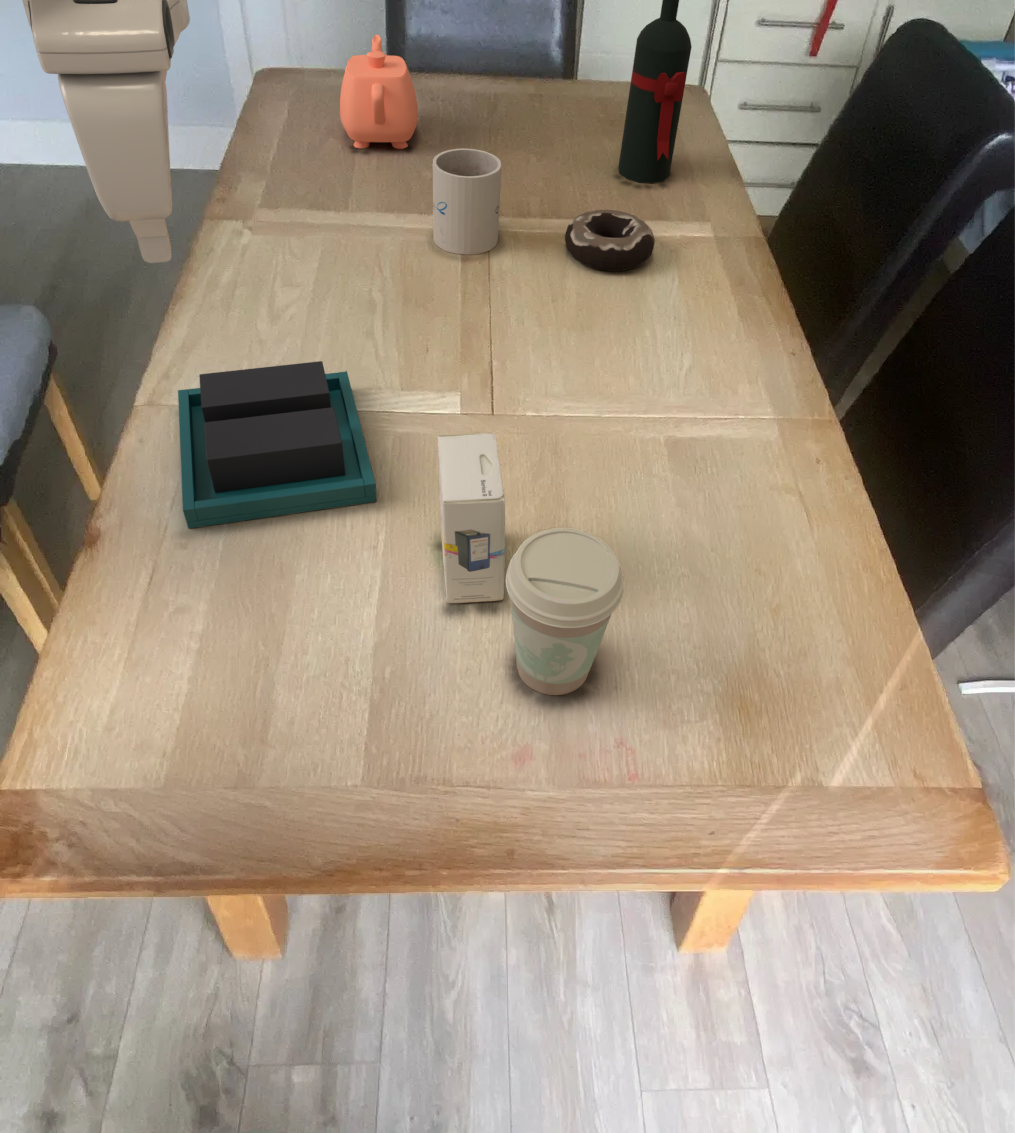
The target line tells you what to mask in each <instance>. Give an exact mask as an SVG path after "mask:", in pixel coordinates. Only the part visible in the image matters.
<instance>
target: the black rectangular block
mask: <svg viewBox="0 0 1015 1133" xmlns="http://www.w3.org/2000/svg"><path fill="white" fill-rule="evenodd" d="M325 374H326V372H325V367H324V362H323V361H322V360H319V361H310V362H301V363H291V364H282V365H271V366H264V367H255V368H245V369H244V368H243V369H236V370H227V371H217V372H209V373H208V372H207V373H200V374H199V376H198V377H199V388H200V392H201V407H202V412H203V416H204V420H205V422H214V421H222V420H230V419H239V418H247V417H256V416H264V415H272V414H281V413H289V412H298V411H306V410H314V409H323V408H331V402H330V394H329V389H328V384H327V380H326V376H325Z"/></svg>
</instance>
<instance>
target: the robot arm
mask: <svg viewBox="0 0 1015 1133" xmlns="http://www.w3.org/2000/svg"><path fill="white" fill-rule="evenodd" d="M21 1H22V4H23V7H24V8H23V9H24V11H25V15H26V18H27V23H28V25H29V27H30V29H31V34H32V39H33V43H34V48H35V51H36V53H37V57H38V61H39V65H40V67H41V69H42V70H43V72H44V73H45V74H49V75H57V80H58V86H59V88H60V89H59V90H60V93H61V96H62V100H63V104H64V107H65V109H66V113H67V115H68V119H69V121H70V124H71V127H72V131H73V134H74V136H75V139H76V142H77V144H78V147H79V150H80V154H81V156H82V159H83V162H84V164H85V167H86V170H87V174H88V175H89V178H90V181H91V185H92V186H93V189H94V191H95V194H96V197H97V199H98V201H99V203H100V205H101V207H102V209H103V210H104V212H105V213H106V215H108V217H109V218H110V220H113V221H115V222H128V223H129V225H130V227H131V229H132V231H133V233H134V235H135V238H136V239H137V243H138V247H139V251H140V255H141V258H142V259H143V261H144V262H145V263H148V264H157V263H158V264H159V263H167V262H170V260H172V256H173V255H172V245H171V239H170V234H169V230H168V225H167V220H166V219H167V218H168V217H169V218H170V216H171V214H172V213H173V190H172V189H173V188H172V175H171V174H172V173H171V158H170V135H169V134H170V133H169V112H168V111H169V110H168V93H167V92H168V91H167V83H166V81H167V74H168V71H169V70H170V69H171V66H172V58H173V56H174V54H175V50H174V47H175V46H176V43H177V41H178V40H179V38H180V35H181V33H182V32H183V31H184V30H185V29H187V27H189V24H190V20H191V16H190V11H189V6H188V0H21Z"/></svg>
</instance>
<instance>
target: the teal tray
mask: <svg viewBox="0 0 1015 1133" xmlns="http://www.w3.org/2000/svg"><path fill="white" fill-rule="evenodd" d="M325 376H326V380H327V384H328V389H329V394H330V402H331V407H334V409H335V414H336V418H337V423H338V427H339V432H340V436H341V440H342V447H343V456H344V466H345V475H344V476H336V477H329V478H322V479H314V480H307V481H299V482H292V483H285V484H277V485H270V486H263V487H255V488H248V489H240V490H233V491H226V492H218V493H215V491H214V487H213V483H212V479H211V475H210V471H209V467H208V463H207V457H206V443H205V428H204V423H205V420H204V416H203V412H202V407H201V392H200V387H194V388H186V389H178V390H177V398H178V400H177V402H178V403H177V404H178V421H179V424H178V425H179V448H180V451H179V452H180V473H181V498H182V500H181V501H182V512H183V516H184V519H185V522H186V526H187V528H188V529H195V528H203V527H210V526H215V525H216V526H217V525H222V524H223V525H224V524H231V523H236V522H237V523H238V522H244V521H251V520H257V519H259V520H260V519H264V518H273V517H279V516H287V515H293V514H300V513H306V512H307V513H308V512H315V511H322V510H328V509H334V508H342V507H350V506H354V505H363V504H368V503H376V502H377V501H378V500H377V498H378V497H377V486H376V480H375V476H374V473H373V468H372V464H371V460H370V457H369V453H368V448H367V444H366V440H365V436H364V433H363V432H364V431H363V429H362V426H361V425H362V424H361V421H360V418H359V413H358V409H357V405H356V402H355V398H354V393H353V390H352V386H351V381H350V378H349V374H348V371H346V370H345V371H338V372H330V373H325Z"/></svg>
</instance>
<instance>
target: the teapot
mask: <svg viewBox="0 0 1015 1133" xmlns="http://www.w3.org/2000/svg"><path fill="white" fill-rule="evenodd" d="M382 46H383V45H382V37H381V36H380V35H379V34H374V35H373V36H372V38H371V51H369V52H367V53H366V54H355V55H352V56H351V57H350V58H349V59H348V61H347V63H346V67H345V70H344V74H343V77H342V82H341V88H340V97H339V116H340V121H341V124H342V126H343V129H344V130H345V132H346V135H347V136H348V137H349V139H350V140H352V141H354V142H353V147H354V148H356V149H366V148H367V149H368V148H369V147H370V143H391V147H393V148H394V149H400V150H403V149H405V148H408V146H409V145H408V143H407V141H409V140H411V139H412V137H413V135H414V133H415V130H416V127H417V125H418V122H419V107H418V99H417V95H416V90H415V86H414V83H413V80H412V77H411V74H410V71H409V68H408V65H407V63H406V61H405V60H404V59H403V57H402V56H399V55H389V54H388V55H387V54H386V52H384V51H383V47H382Z"/></svg>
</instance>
